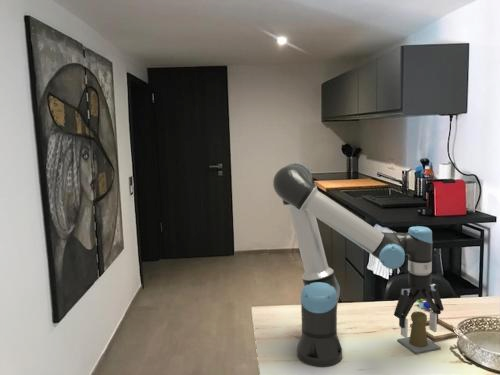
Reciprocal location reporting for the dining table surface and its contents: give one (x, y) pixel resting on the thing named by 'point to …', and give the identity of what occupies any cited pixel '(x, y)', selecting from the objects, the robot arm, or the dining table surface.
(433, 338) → the wooden square frame
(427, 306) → the colourful toy
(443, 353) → the dining table surface
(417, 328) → the cork
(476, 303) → the dining table surface
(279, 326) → the dining table surface
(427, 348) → the slate pad
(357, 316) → the dining table surface
